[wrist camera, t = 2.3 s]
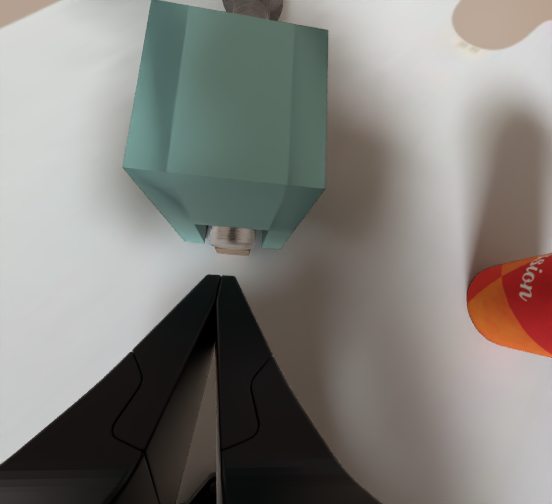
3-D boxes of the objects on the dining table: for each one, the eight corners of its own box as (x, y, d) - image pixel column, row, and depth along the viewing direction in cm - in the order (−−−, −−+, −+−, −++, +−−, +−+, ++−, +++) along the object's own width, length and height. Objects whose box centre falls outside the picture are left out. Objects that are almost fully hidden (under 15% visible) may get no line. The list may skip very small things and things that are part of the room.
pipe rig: (313, 260, 19) (338, 245, 14) (146, 247, 17) (113, 226, 13) (319, 41, 22) (340, -31, 17) (180, 17, 21) (163, -67, 16)
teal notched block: (280, 248, 18) (325, 188, 9) (184, 241, 17) (122, 167, 8) (284, 163, 19) (328, 30, 10) (195, 153, 19) (151, -2, 9)
